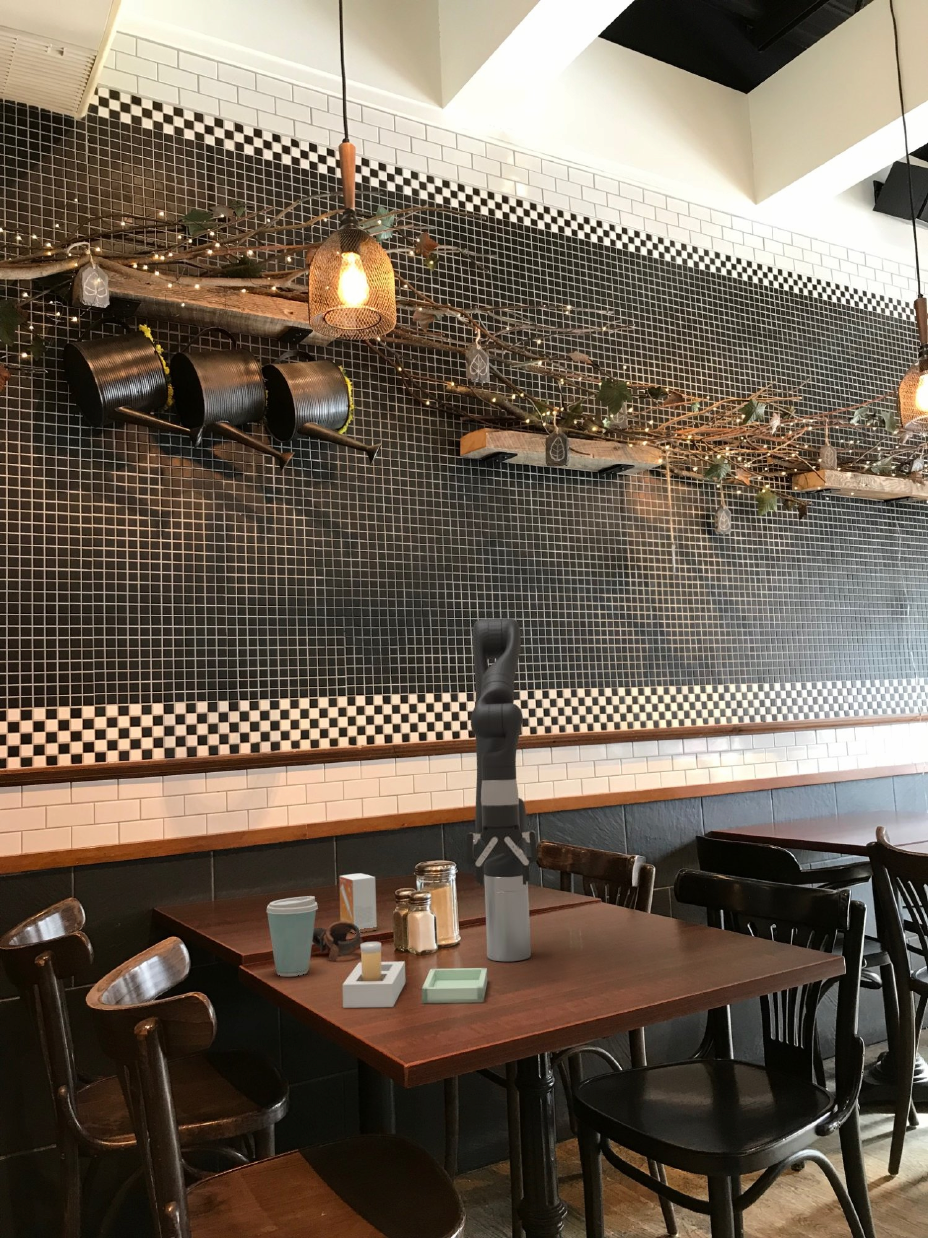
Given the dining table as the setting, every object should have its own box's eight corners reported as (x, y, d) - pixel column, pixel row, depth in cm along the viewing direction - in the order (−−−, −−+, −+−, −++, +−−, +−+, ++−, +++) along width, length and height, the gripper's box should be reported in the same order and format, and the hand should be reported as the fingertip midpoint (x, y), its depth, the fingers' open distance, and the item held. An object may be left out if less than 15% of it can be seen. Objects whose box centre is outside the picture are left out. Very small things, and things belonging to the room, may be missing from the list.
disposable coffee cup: (259, 980, 197) (258, 903, 198) (276, 966, 208) (275, 894, 209) (310, 980, 196) (309, 903, 197) (325, 966, 206) (323, 893, 208)
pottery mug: (365, 952, 220) (369, 923, 217) (352, 981, 211) (355, 951, 208) (315, 938, 222) (317, 909, 219) (299, 967, 213) (302, 937, 210)
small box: (339, 929, 243) (338, 875, 244) (363, 926, 246) (361, 872, 247) (353, 935, 236) (352, 879, 237) (377, 931, 239) (376, 876, 240)
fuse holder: (359, 983, 191) (359, 962, 192) (405, 982, 191) (404, 961, 191) (343, 1008, 176) (342, 984, 176) (392, 1007, 175) (392, 984, 175)
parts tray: (431, 982, 190) (430, 969, 191) (487, 981, 190) (487, 968, 190) (422, 1003, 176) (421, 989, 177) (483, 1002, 176) (482, 988, 176)
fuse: (363, 997, 182) (362, 942, 183) (384, 997, 181) (382, 941, 182) (360, 1003, 178) (358, 946, 179) (380, 1003, 178) (379, 946, 179)
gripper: (535, 800, 202) (539, 881, 200) (466, 802, 203) (469, 883, 201) (535, 802, 195) (538, 886, 192) (463, 804, 196) (466, 888, 193)
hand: (503, 884), depth 197 cm, fingers open, 8 cm apart
